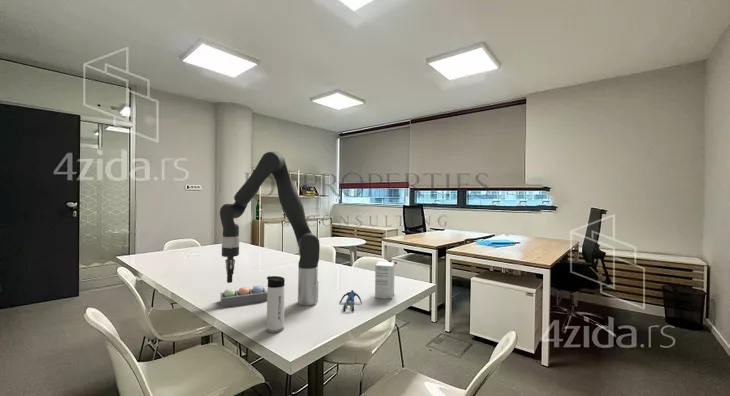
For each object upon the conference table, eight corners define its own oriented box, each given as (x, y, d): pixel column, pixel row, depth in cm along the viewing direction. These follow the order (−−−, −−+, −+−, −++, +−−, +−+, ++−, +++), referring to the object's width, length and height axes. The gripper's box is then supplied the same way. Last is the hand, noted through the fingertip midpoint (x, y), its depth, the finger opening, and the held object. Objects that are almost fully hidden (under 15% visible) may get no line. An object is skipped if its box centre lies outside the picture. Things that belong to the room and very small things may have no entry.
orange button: (248, 293, 144) (248, 286, 144) (249, 296, 140) (249, 289, 140) (238, 295, 142) (238, 288, 142) (239, 298, 138) (239, 290, 138)
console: (263, 295, 150) (263, 287, 150) (267, 301, 141) (267, 292, 141) (220, 301, 140) (220, 292, 140) (221, 307, 132) (221, 298, 132)
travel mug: (267, 326, 113) (269, 274, 114) (285, 325, 114) (286, 274, 114) (263, 333, 107) (264, 279, 107) (282, 333, 108) (283, 278, 108)
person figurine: (360, 316, 129) (363, 297, 147) (360, 307, 128) (363, 289, 146) (336, 315, 130) (341, 296, 147) (336, 306, 129) (341, 288, 147)
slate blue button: (261, 292, 147) (262, 285, 147) (263, 294, 143) (263, 287, 143) (252, 293, 145) (252, 286, 145) (253, 296, 141) (253, 288, 141)
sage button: (234, 295, 141) (234, 288, 141) (235, 298, 137) (235, 291, 137) (223, 297, 139) (223, 289, 139) (224, 300, 135) (224, 292, 135)
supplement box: (377, 292, 158) (377, 261, 158) (394, 293, 156) (394, 262, 157) (374, 297, 149) (375, 264, 149) (392, 299, 147) (393, 265, 147)
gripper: (221, 244, 142) (220, 279, 142) (222, 248, 130) (221, 287, 130) (237, 243, 146) (236, 278, 145) (240, 247, 134) (239, 285, 134)
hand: (229, 282), depth 138 cm, fingers closed
